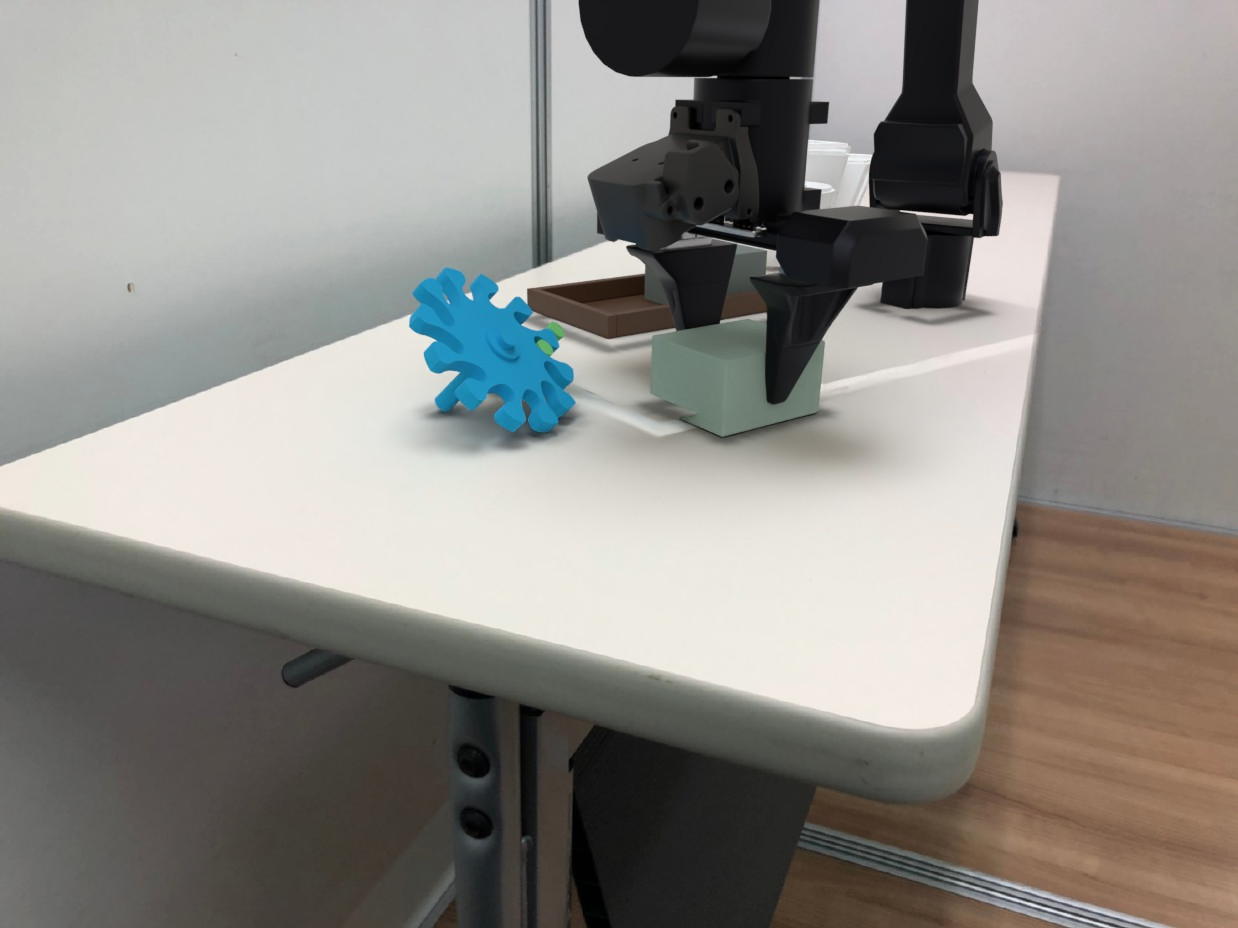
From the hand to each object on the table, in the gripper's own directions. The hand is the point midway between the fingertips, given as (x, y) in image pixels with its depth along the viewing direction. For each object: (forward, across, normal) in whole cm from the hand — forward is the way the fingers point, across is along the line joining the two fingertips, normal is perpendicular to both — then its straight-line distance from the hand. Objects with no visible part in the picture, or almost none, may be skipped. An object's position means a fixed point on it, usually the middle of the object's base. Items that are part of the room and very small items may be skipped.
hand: (734, 387), depth 53 cm
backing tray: (+1, -19, +10) cm, 22 cm away
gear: (+2, -6, -11) cm, 13 cm away
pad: (0, -19, +14) cm, 24 cm away
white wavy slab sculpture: (+2, -37, +39) cm, 54 cm away
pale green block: (+1, 0, 0) cm, 1 cm away
